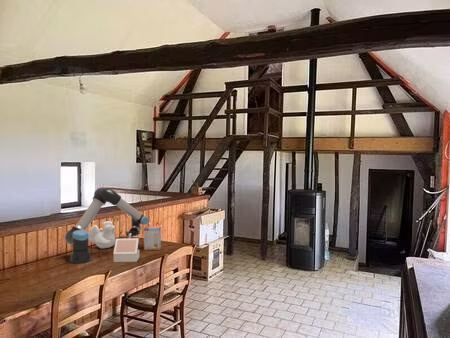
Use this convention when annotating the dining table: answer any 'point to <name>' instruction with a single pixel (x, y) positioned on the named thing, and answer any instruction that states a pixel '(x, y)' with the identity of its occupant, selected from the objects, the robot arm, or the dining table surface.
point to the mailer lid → (126, 246)
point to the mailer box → (126, 257)
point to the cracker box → (152, 238)
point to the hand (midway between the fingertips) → (129, 236)
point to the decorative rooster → (102, 235)
